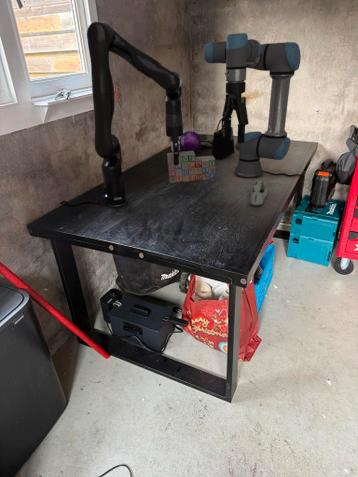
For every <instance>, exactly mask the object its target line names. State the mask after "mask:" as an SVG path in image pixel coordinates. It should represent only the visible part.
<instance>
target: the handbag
mask: <svg viewBox="0 0 358 477" xmlns="http://www.w3.org/2000/svg"><path fill="white" fill-rule="evenodd" d="M220 125H221V128H220V129H219V127H220ZM224 126H225V119H224V117H223V116H221V118H220V120H219V122H218V123H217V126H216V129H215V130H214V132H213V135H214V136H213V142H212V144H211V145H212V148H211V154H210V156H213V157H214V158H215V160H224V159H226V158H228V156H231V155H232V154H233V153H235V141H234V140H235V139H234V137H235V135H234V129H233V128H234V127H232V126H231V135H230V136H224Z"/></svg>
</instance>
